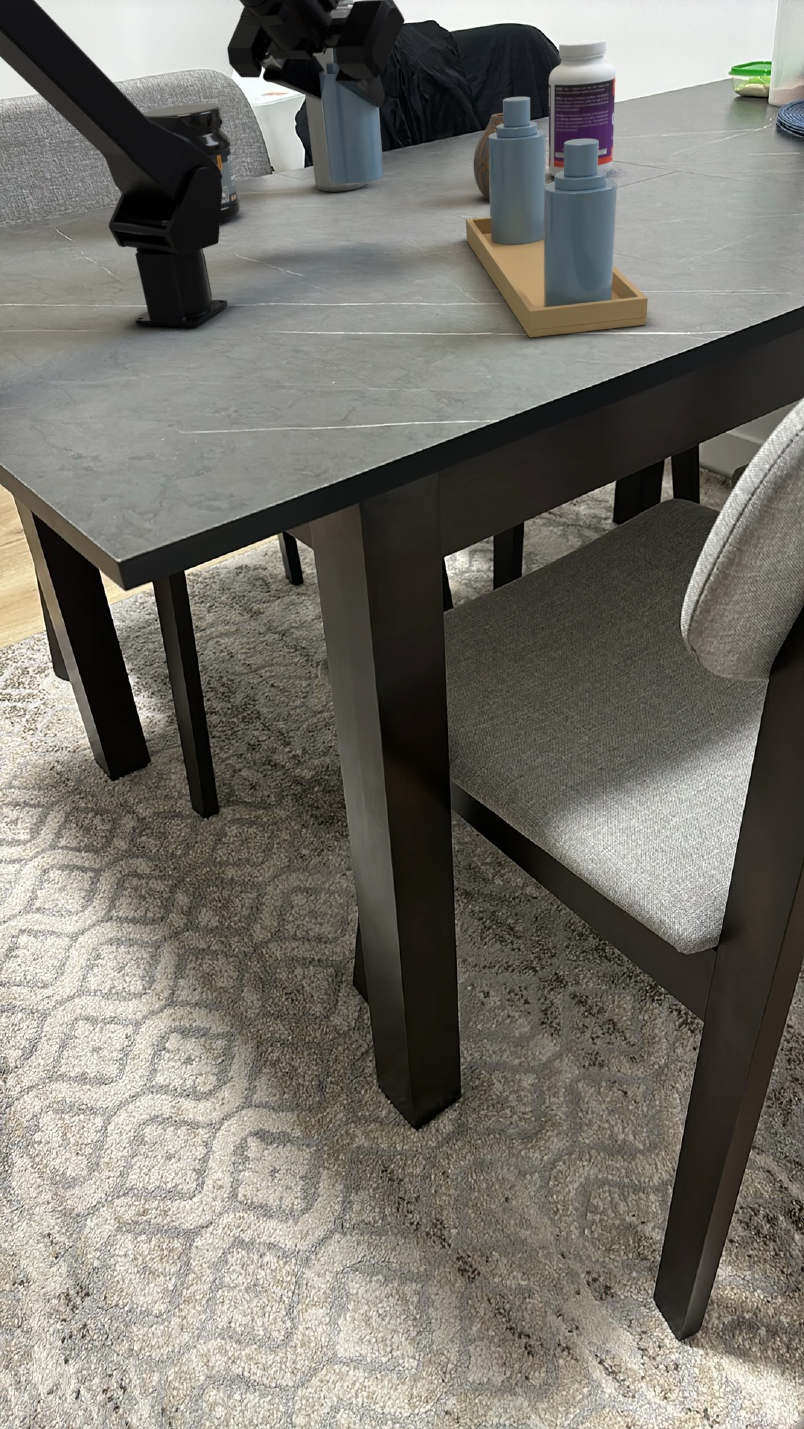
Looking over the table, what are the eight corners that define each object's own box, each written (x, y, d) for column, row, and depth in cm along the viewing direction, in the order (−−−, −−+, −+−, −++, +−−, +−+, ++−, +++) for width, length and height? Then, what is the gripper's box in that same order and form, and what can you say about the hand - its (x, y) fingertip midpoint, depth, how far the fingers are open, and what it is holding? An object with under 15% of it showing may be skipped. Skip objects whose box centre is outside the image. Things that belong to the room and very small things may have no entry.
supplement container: (142, 223, 129) (118, 114, 122) (214, 206, 134) (196, 100, 127) (182, 235, 123) (160, 119, 115) (257, 216, 127) (241, 105, 120)
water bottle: (306, 194, 136) (278, -40, 121) (326, 181, 142) (302, -44, 127) (372, 193, 133) (352, -47, 118) (390, 180, 139) (373, -50, 124)
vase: (536, 190, 127) (536, 108, 122) (526, 202, 122) (525, 118, 117) (481, 191, 129) (478, 111, 124) (469, 204, 124) (466, 121, 118)
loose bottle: (360, 185, 103) (346, 36, 96) (318, 182, 106) (302, 37, 99) (394, 174, 107) (384, 29, 99) (353, 171, 110) (341, 31, 102)
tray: (646, 324, 84) (648, 297, 82) (529, 337, 83) (529, 311, 82) (555, 230, 110) (555, 209, 109) (466, 240, 110) (465, 219, 109)
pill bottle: (624, 175, 130) (630, 39, 121) (567, 184, 128) (570, 47, 119) (591, 166, 136) (595, 36, 127) (537, 175, 134) (537, 44, 125)
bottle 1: (550, 241, 105) (551, 99, 97) (495, 247, 105) (492, 105, 97) (538, 228, 109) (539, 92, 102) (486, 234, 109) (483, 98, 101)
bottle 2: (619, 316, 84) (627, 143, 76) (551, 323, 84) (553, 151, 76) (601, 297, 89) (607, 132, 81) (537, 304, 88) (537, 139, 81)
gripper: (381, -119, 85) (466, 26, 98) (228, -99, 95) (323, 30, 108) (328, 6, 85) (420, 134, 98) (180, 12, 95) (281, 128, 108)
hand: (359, 102), depth 103 cm, fingers closed on loose bottle, 5 cm apart
